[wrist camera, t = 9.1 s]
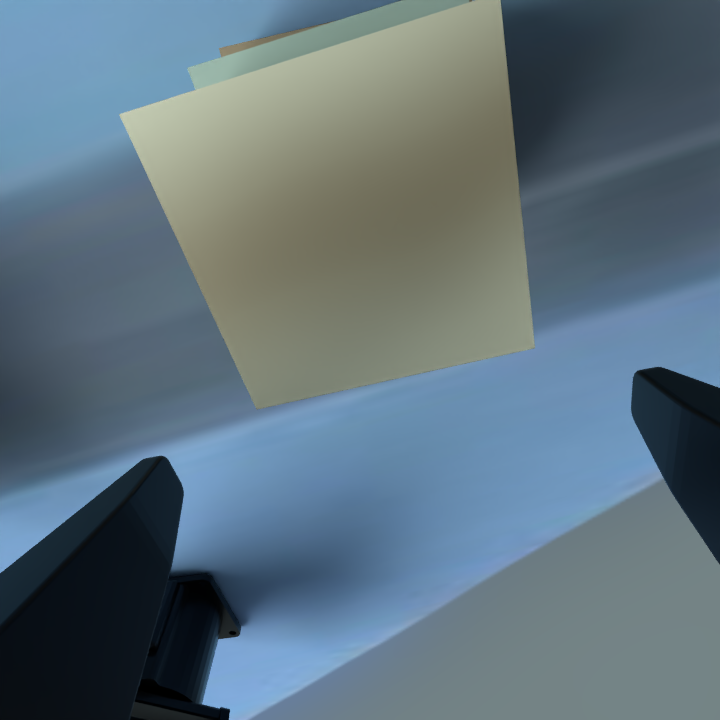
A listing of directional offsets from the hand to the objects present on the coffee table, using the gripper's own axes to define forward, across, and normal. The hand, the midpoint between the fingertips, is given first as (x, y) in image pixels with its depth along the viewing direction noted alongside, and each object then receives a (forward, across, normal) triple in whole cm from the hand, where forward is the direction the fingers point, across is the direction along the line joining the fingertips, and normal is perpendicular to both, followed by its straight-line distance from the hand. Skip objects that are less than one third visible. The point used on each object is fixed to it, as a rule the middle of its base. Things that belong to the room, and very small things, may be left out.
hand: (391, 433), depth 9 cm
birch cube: (+5, 0, -4) cm, 6 cm away
